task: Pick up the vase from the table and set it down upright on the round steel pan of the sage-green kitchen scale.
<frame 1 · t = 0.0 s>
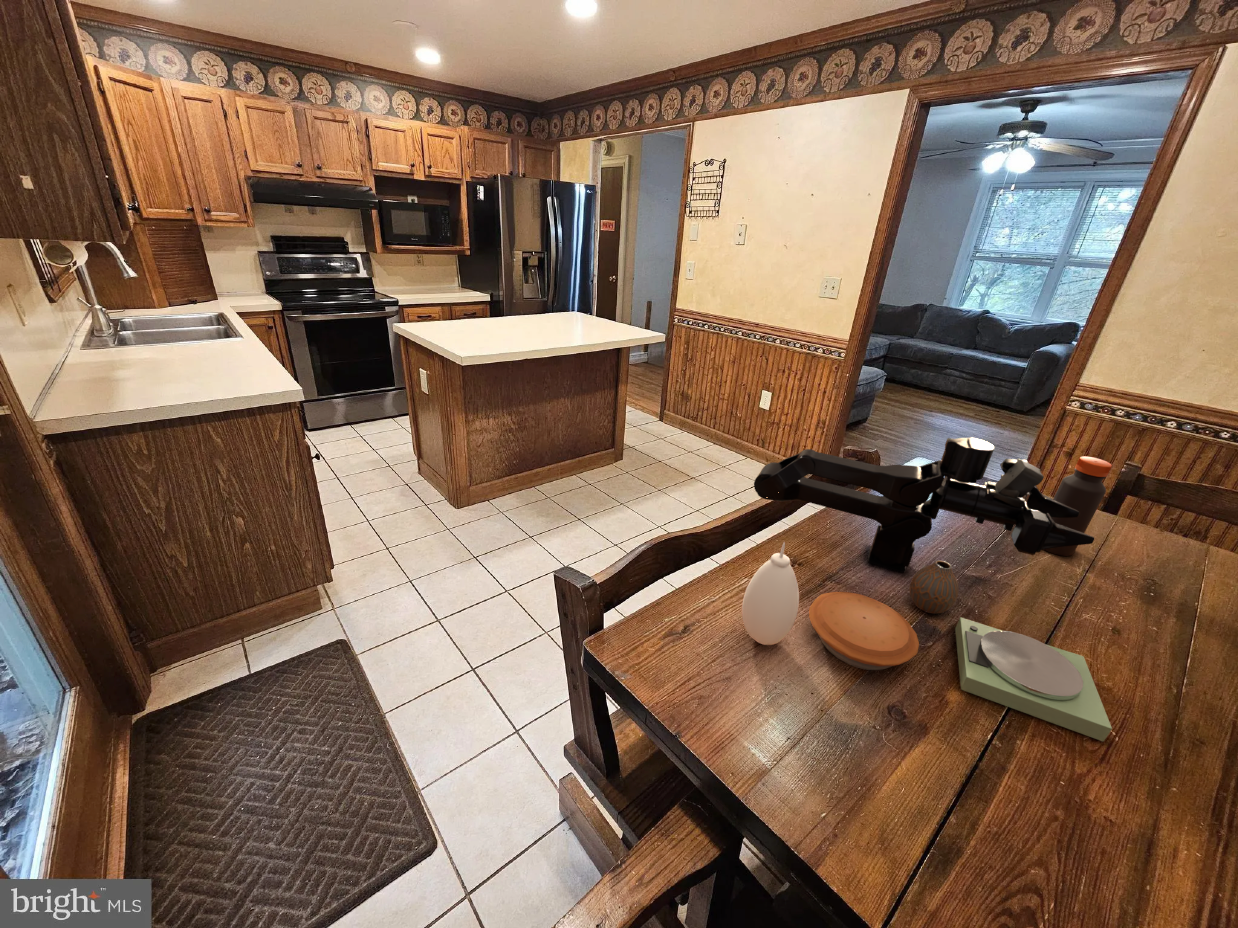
hand: (1085, 526, 83), 17 cm above the table, tool horizontal, fingers open, 9 cm apart
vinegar: (1052, 547, 108), on the table
pie: (856, 643, 80), on the table
scale: (1020, 678, 75), on the table
vase: (926, 606, 89), on the table
sauce bottle: (762, 639, 80), on the table
scale pan: (1028, 662, 74), point 3 cm above the table, slide at 0.0 cm
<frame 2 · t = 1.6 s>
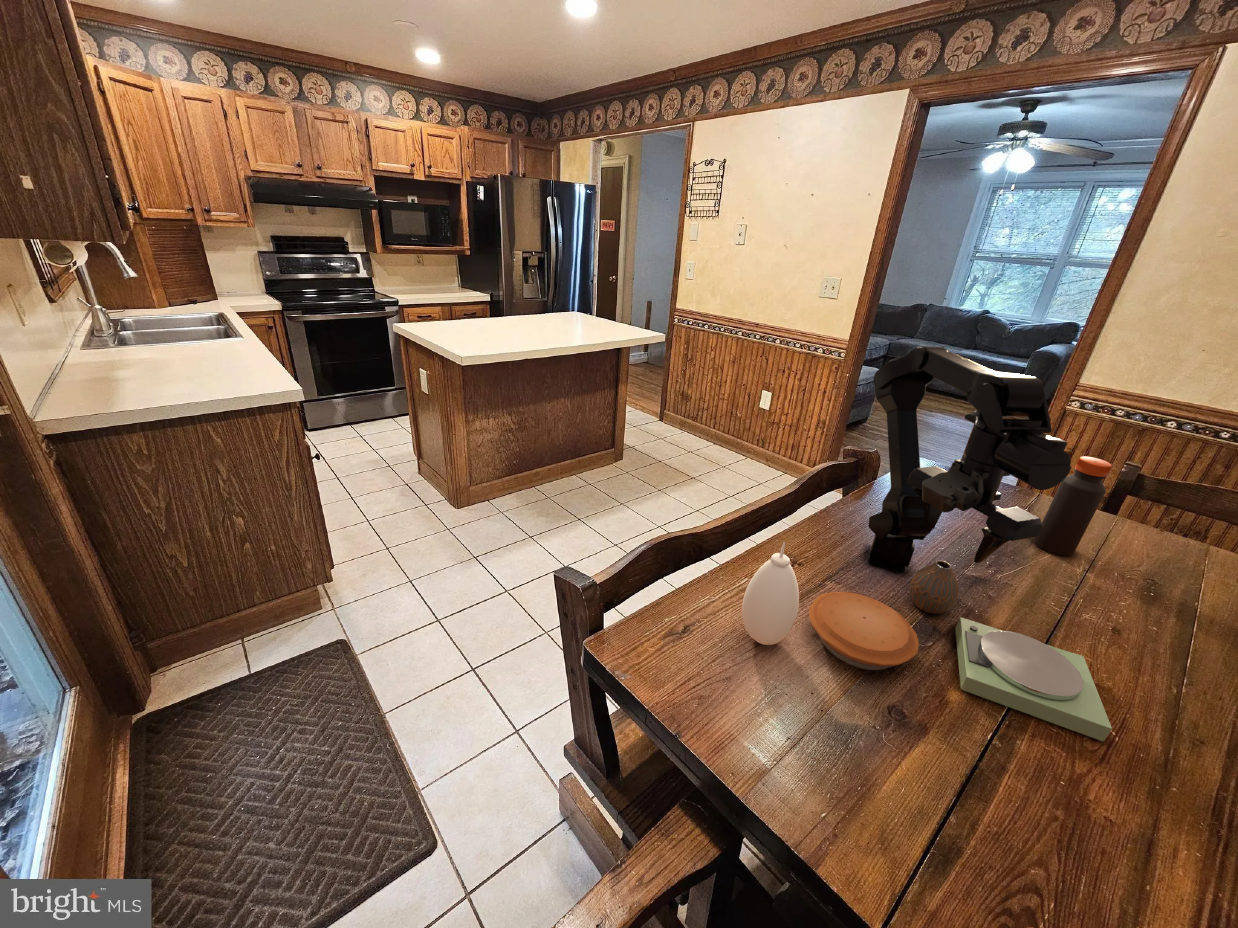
hand: (951, 545, 83), 13 cm above the table, tool pointing down, fingers open, 9 cm apart
nothing on the table moved.
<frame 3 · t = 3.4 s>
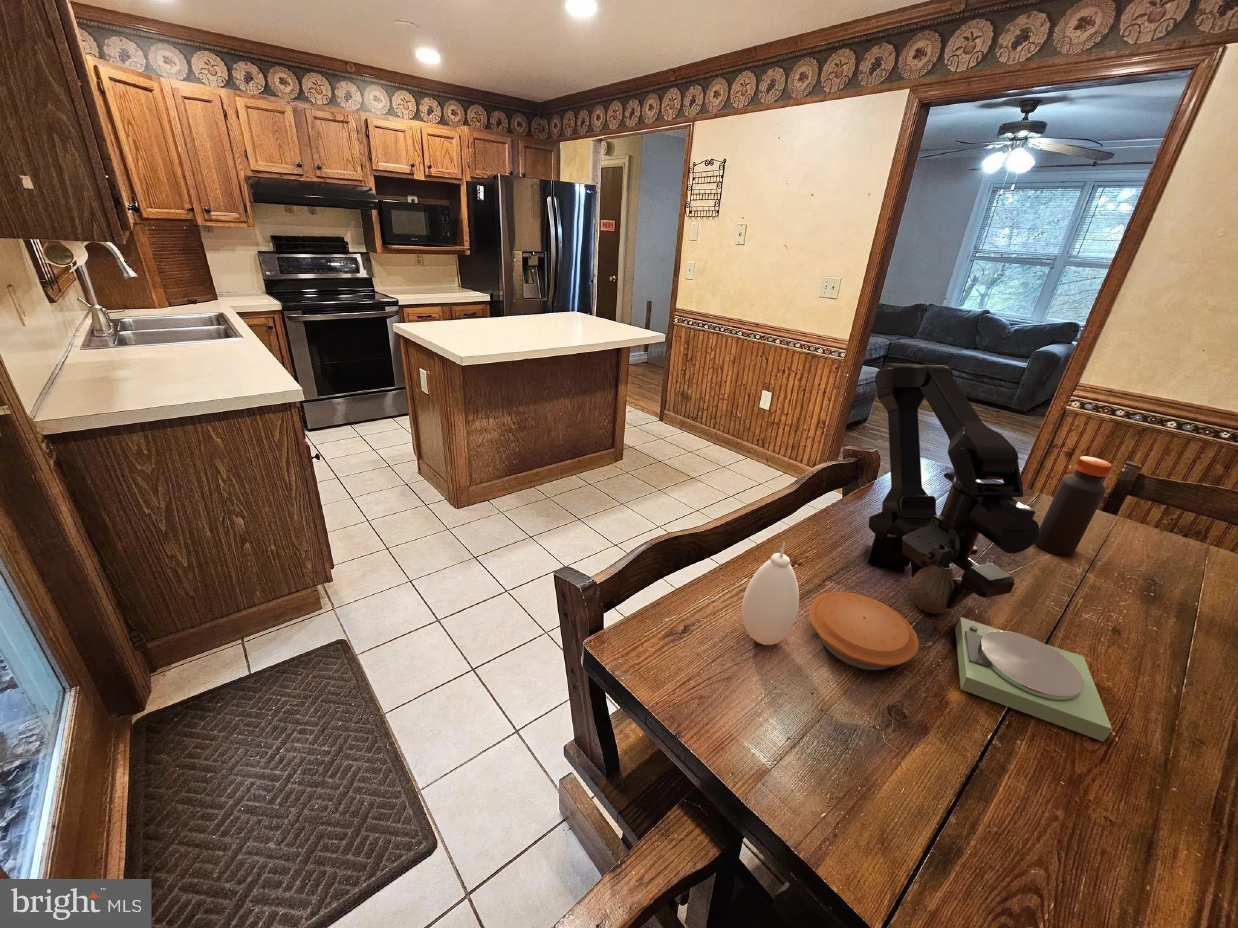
hand: (931, 594, 88), 3 cm above the table, tool pointing down, fingers closed on vase, 7 cm apart
vase: (926, 606, 89), on the table, touching gripper
everything else where it was.
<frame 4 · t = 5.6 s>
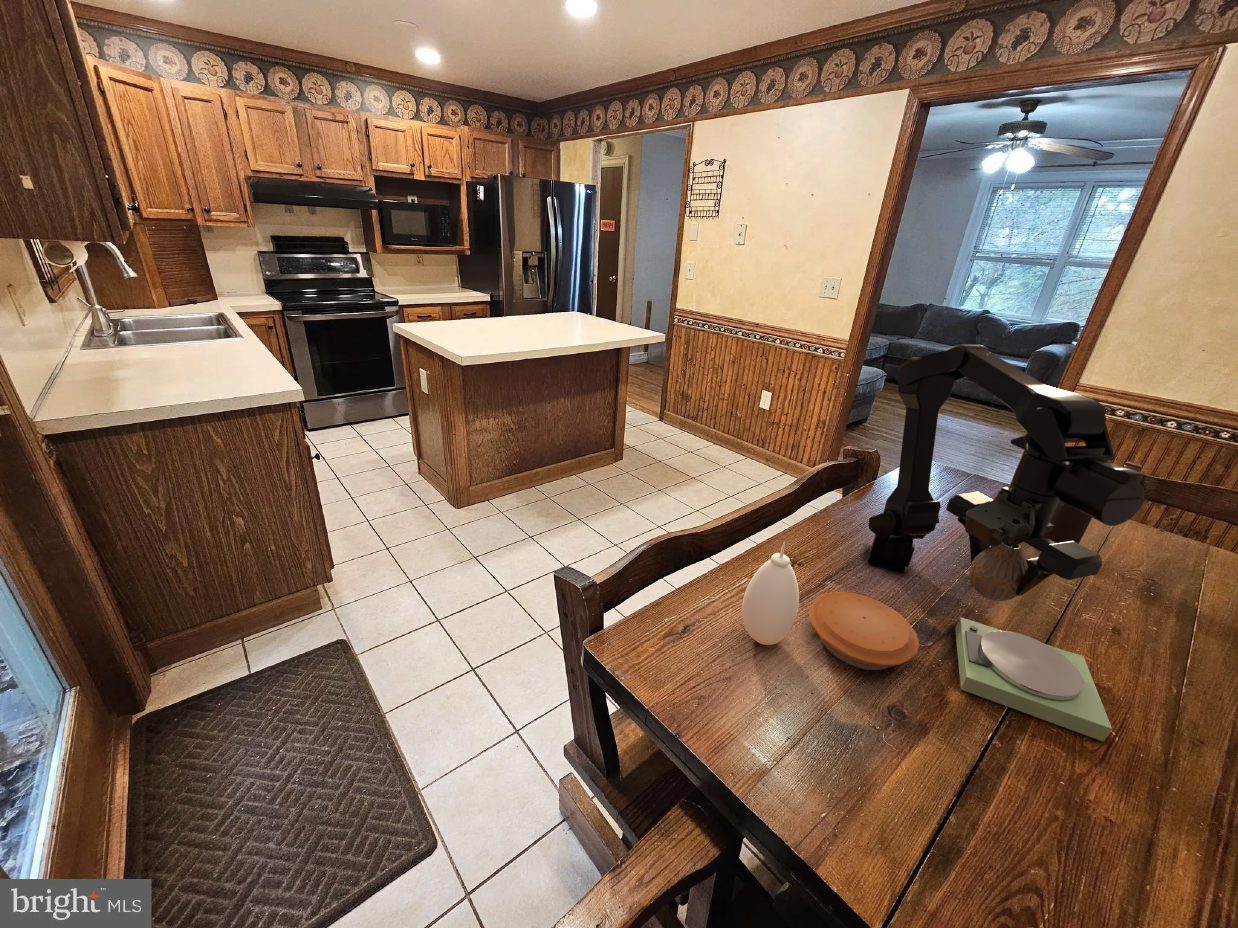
hand: (995, 579, 77), 12 cm above the table, tool pointing down, fingers closed on vase, 7 cm apart
vase: (989, 593, 78), point 9 cm above the table, touching gripper
everything else where it was.
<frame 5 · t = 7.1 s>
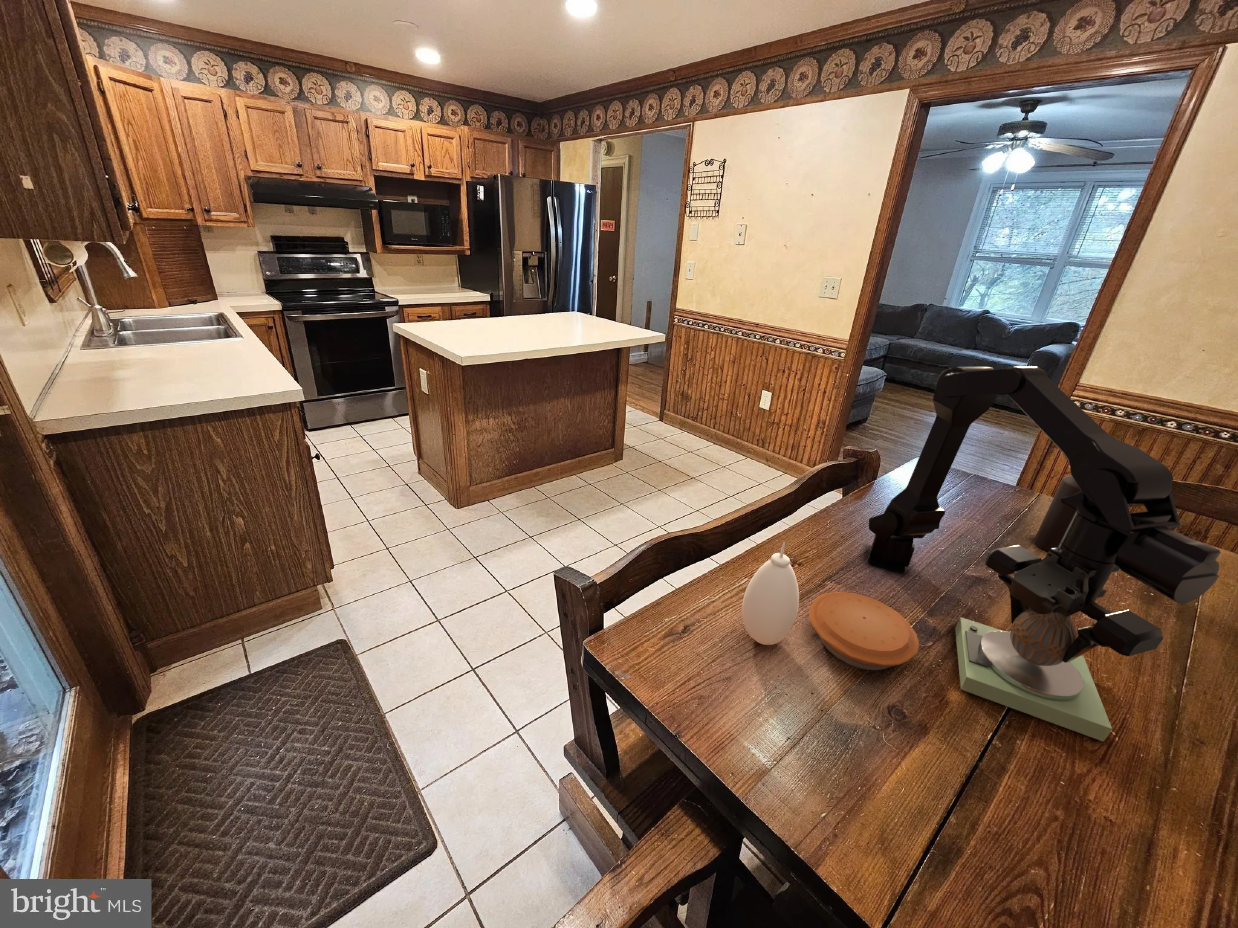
hand: (1039, 641, 72), 7 cm above the table, tool pointing down, fingers closed on vase, 7 cm apart
vase: (1031, 655, 73), point 4 cm above the table, touching gripper
everything else where it was.
when the fingers open (6 cm above the table, at t = 8.0 s): vase stays where it is, resting on scale pan.
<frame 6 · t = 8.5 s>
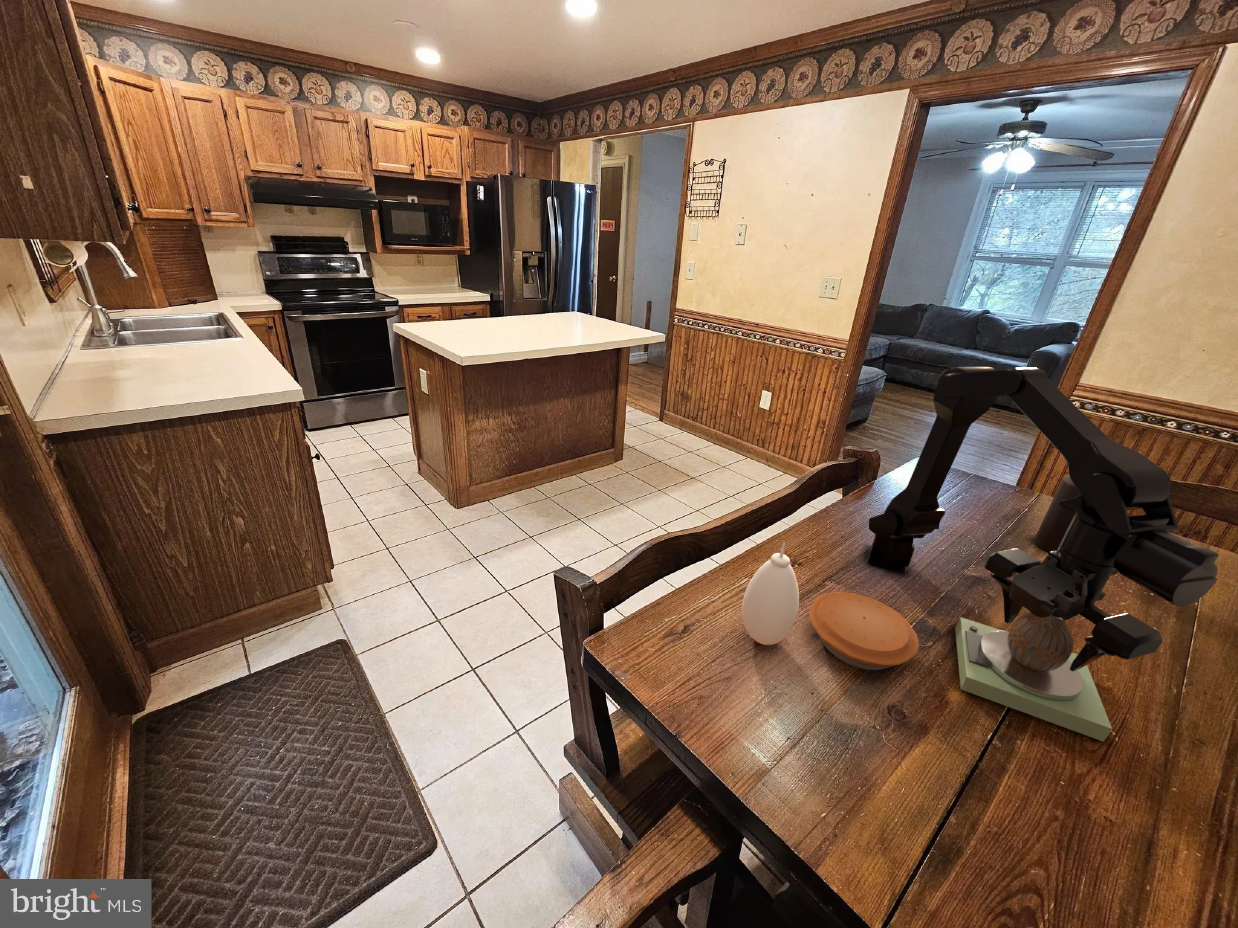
hand: (1038, 644, 72), 7 cm above the table, tool pointing down, fingers open, 9 cm apart
vase: (1028, 661, 74), point 3 cm above the table, touching scale pan
scale pan: (1028, 662, 74), point 3 cm above the table, slide at 0.0 cm, touching scale, vase
everything else where it was.
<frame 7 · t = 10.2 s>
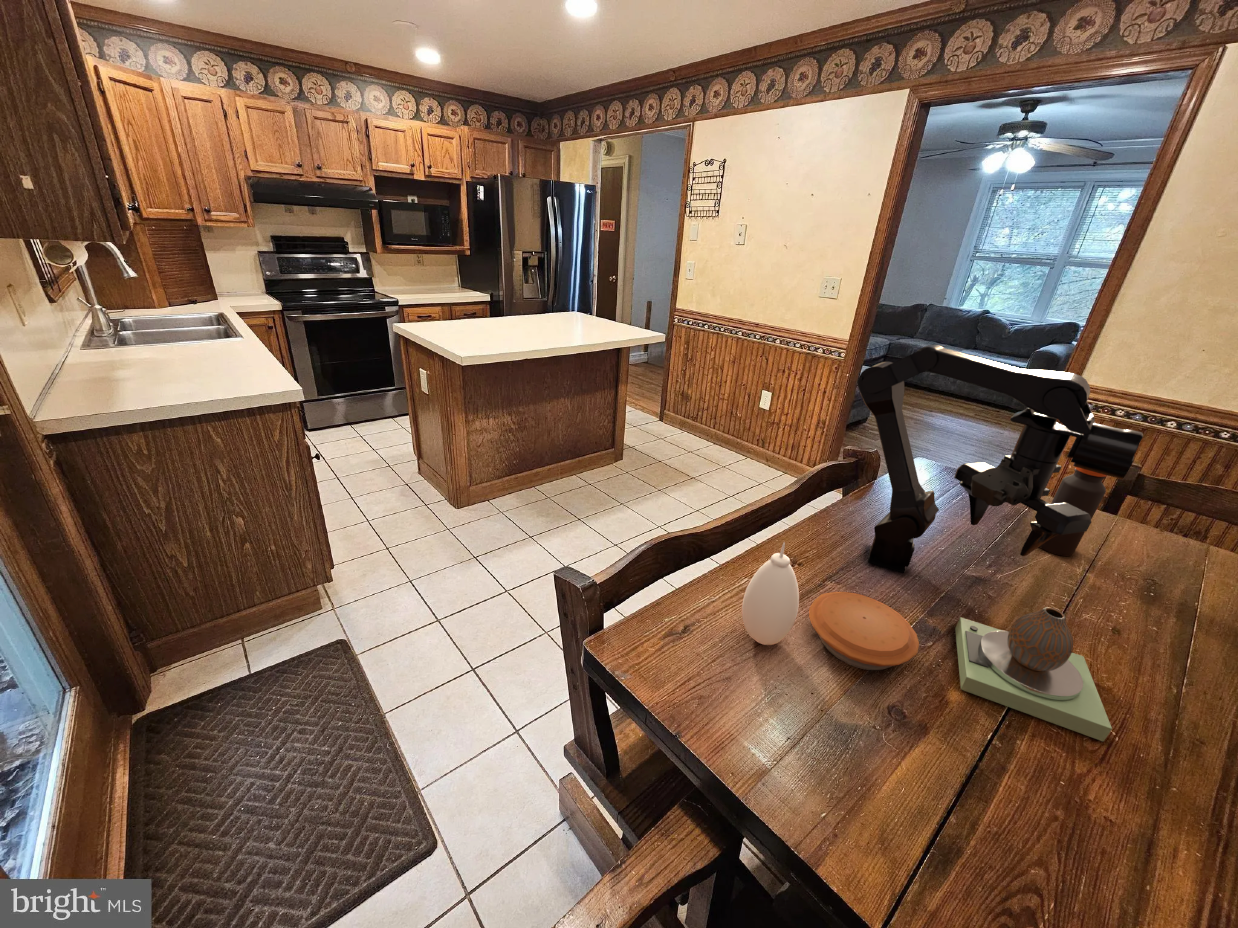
hand: (997, 539, 86), 12 cm above the table, tool pointing down, fingers open, 9 cm apart
nothing on the table moved.
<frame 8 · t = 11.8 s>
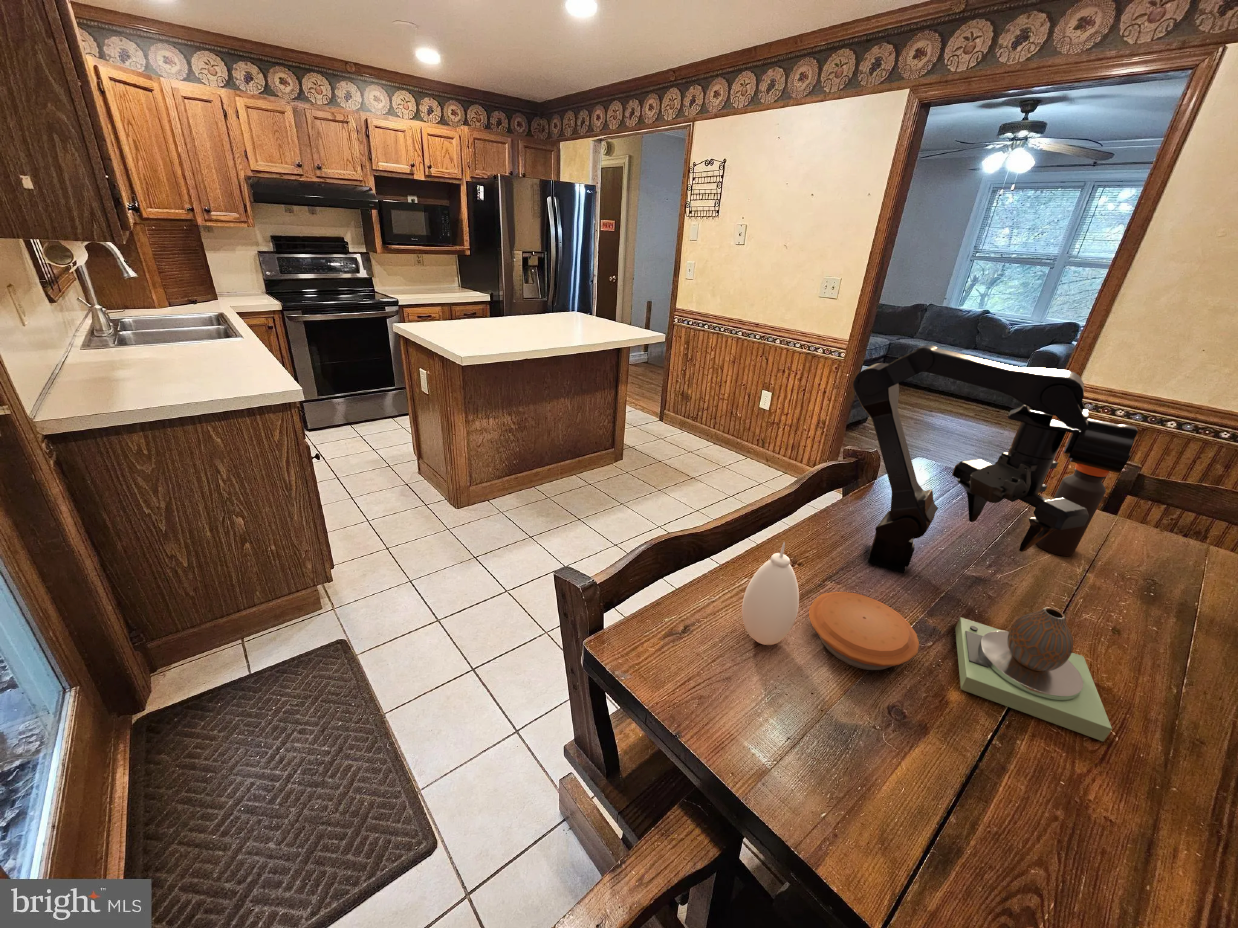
hand: (995, 535, 87), 13 cm above the table, tool pointing down, fingers open, 9 cm apart
nothing on the table moved.
at the end: vase inside the target area on the scale (0.1 cm from its centre), point 3.3 cm above the scale's base; vase tilted 0°; the gripper is holding nothing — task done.
